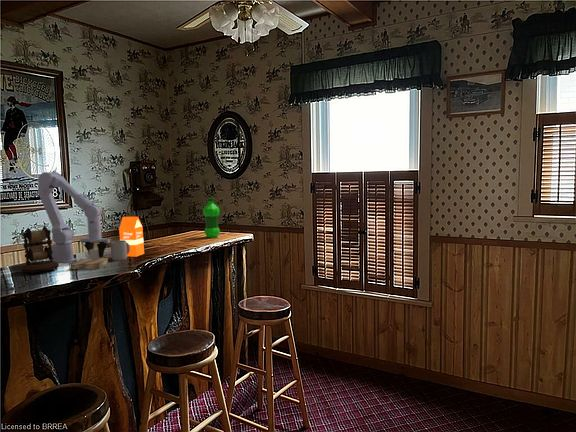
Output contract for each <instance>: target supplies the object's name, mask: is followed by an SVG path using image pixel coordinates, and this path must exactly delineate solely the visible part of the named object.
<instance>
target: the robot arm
mask: <svg viewBox="0 0 576 432" xmlns="http://www.w3.org/2000/svg"><path fill="white" fill-rule="evenodd" d="M37 182H38V183H37V184H38V186H37V192H38V193H37V194H38V195H39V198H40V200H41V203H42V206H43V207H44V210H45V213H46V214H47V216H48V219H49V221H50V224H51V225H52V228H51V229H50V231H51V233H52V235H51V236H52V237H51V240H52V242H54V243H52V244H51V247H52V249H51V250H52V251H53V253H52V257H53V260H52V261H55V262H57V263H59V264H61V263H64V264H65V263H70V262H73V261H78V258H76V257H75V258H74V250H73V239H74V236H75V234H74V232H73V230H72V229H71V228H70V227H69V225H68V224H67V223H65V221H64V218H63V216H62V214H61V212H60V209H59V207H58V205H57V201H56V199H55V198H54V195H53V192H54V189H55V188H60V189H62V190H63V191H64V192H65V193H66V194H67V195H69V197H72V199H73V203H74V204H75V205H76V206H77V207H78V208H79V209H80V210H82V211H83V212H84V213H83V214H84V216H85V217H86V219H87V230H88V231H87V232H88V233H87V234H88V237H87V238H86V237H85V238H80V244H83V247H84V248H85V249H86V251H87V253H88V256H90V254H89V250H91V249H94V248H95V244H96V243H97V244H96V246H97V248H98V250H99V257H100V258H101V257H103V256H104V253H105V249H106V247H107V245H108V244H109V243H110V242H111V239H110V238H105V237H102V226H101V217H100V215H101V214H102V208H101V207H100V206H99V205H97V204H96V203H95V202H92V201H91V200H90V199H89V198H88V195H85V194H83V193H79V192H78V191H77V190H76V189H75V188H74V187H73V185H72V184H70V182H68V181H67V180H66V179H65V177H64V176H63V175H61V174H60V173H59V172H56V171H51V172H49V171H47V172H46V171H45V172H42V173H41V174H40V175H39V176H38V178H37ZM110 244H111V243H110Z"/></svg>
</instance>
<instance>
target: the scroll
mask: <svg viewBox="0 0 576 432" xmlns="http://www.w3.org/2000/svg"><path fill="white" fill-rule="evenodd" d="M51 233H52V232H51V229H48V228H47V226H45V225H44V226H42V229H40V230H31V228H30V227H27V228H26V230H25V232H23V233H22V237H23V239H24V240H23V244H22V245H23V249H25V250H24V257H25V264H24V265H23V266H21V267H20V271H21V272H24V273H31V274H32V273H34V274H36V273H37V272H44V271H50V270H53V269H54V270H55V271H58V268H59V266H60V263H57V262H55V261H52V260H53V257H52V253H53V251H52V250H51V249H52V247H51V246H52V245H53V239H52V237H51V236H52V235H51ZM44 245H47V246H44Z"/></svg>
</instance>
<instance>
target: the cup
mask: <svg viewBox="0 0 576 432" xmlns="http://www.w3.org/2000/svg"><path fill="white" fill-rule="evenodd" d="M126 247H127V249H126ZM129 252H130V245H129V244H128V243H127V242H126V241H125V240H120V239H118V240H111V241H110V254H111V256H110V257H111V260H112V261H116V262H117V261H125V260H127V259H128V256H127V255H128V254H129Z"/></svg>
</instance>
